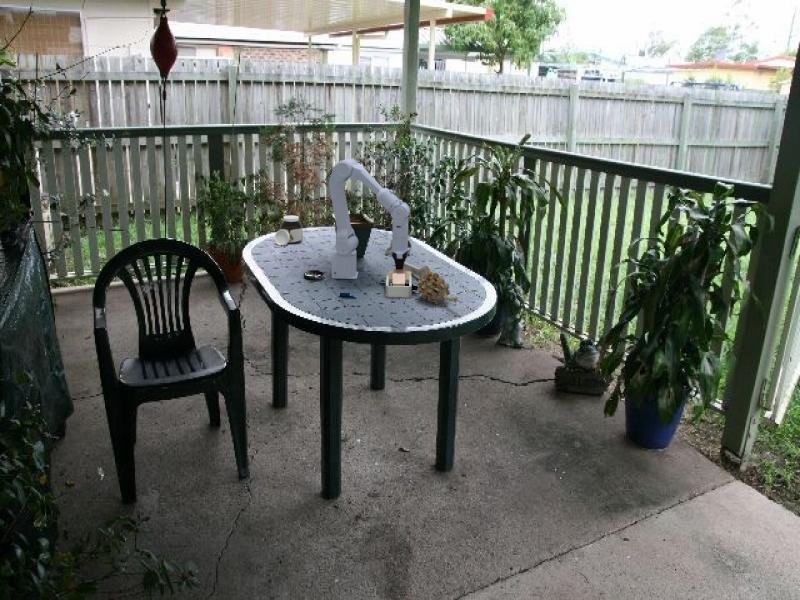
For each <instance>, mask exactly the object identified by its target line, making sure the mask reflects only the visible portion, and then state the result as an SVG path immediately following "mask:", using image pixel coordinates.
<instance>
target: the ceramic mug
mask: <svg viewBox="0 0 800 600" xmlns="http://www.w3.org/2000/svg"><path fill="white" fill-rule="evenodd" d="M408 248H411V249H412V243H411V241H410V239H408ZM392 253H393V251H392V239H391V241H390V246H389V247H387V248H386V249H385V250H384V254H385V256H392ZM410 253H411V251H407V256H408V255H409V254H410Z"/></svg>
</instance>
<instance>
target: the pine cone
mask: <svg viewBox="0 0 800 600" xmlns="http://www.w3.org/2000/svg"><path fill="white" fill-rule="evenodd" d="M417 282H418V283H417V286H418V287H417V290H416V291H417V292H418V293H419V294H421V297H422V298H423V299H425V300H426V299H427V301H428V302H430V303H432V302H434V304H435V305H439V304H440V303H441V302H442V303H443V302H444V301H448V302H453V303H457V301H458V296H455V297H451V296H449V295H450V290H449V288H450V285H449V284H448V283H447V282H446V281H445V279H444V278H443V276H442V277H440V275H439V273H437V272H434V274H433V273H432V272H427V273H424V275H422V276H421V278H420V277H419V279H418V281H417Z"/></svg>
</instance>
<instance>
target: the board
mask: <svg viewBox="0 0 800 600" xmlns="http://www.w3.org/2000/svg"><path fill="white" fill-rule="evenodd" d="M386 272H387V274H386V276H387V275H389V283H393V270H387V271H386ZM409 276H411V277H412V273H411V271H406V273H405V283H406V284H409Z"/></svg>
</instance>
